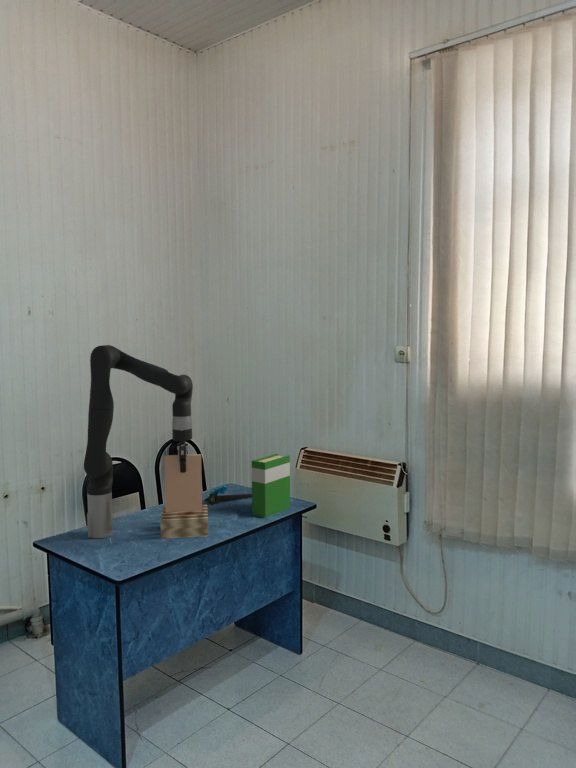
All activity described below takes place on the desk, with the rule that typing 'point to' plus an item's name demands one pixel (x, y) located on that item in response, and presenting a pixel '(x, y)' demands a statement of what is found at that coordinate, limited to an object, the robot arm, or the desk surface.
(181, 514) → the offcut short
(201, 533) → the rack
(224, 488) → the gear
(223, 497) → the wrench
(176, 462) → the tall sheet
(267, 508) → the hardback book
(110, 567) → the desk surface
